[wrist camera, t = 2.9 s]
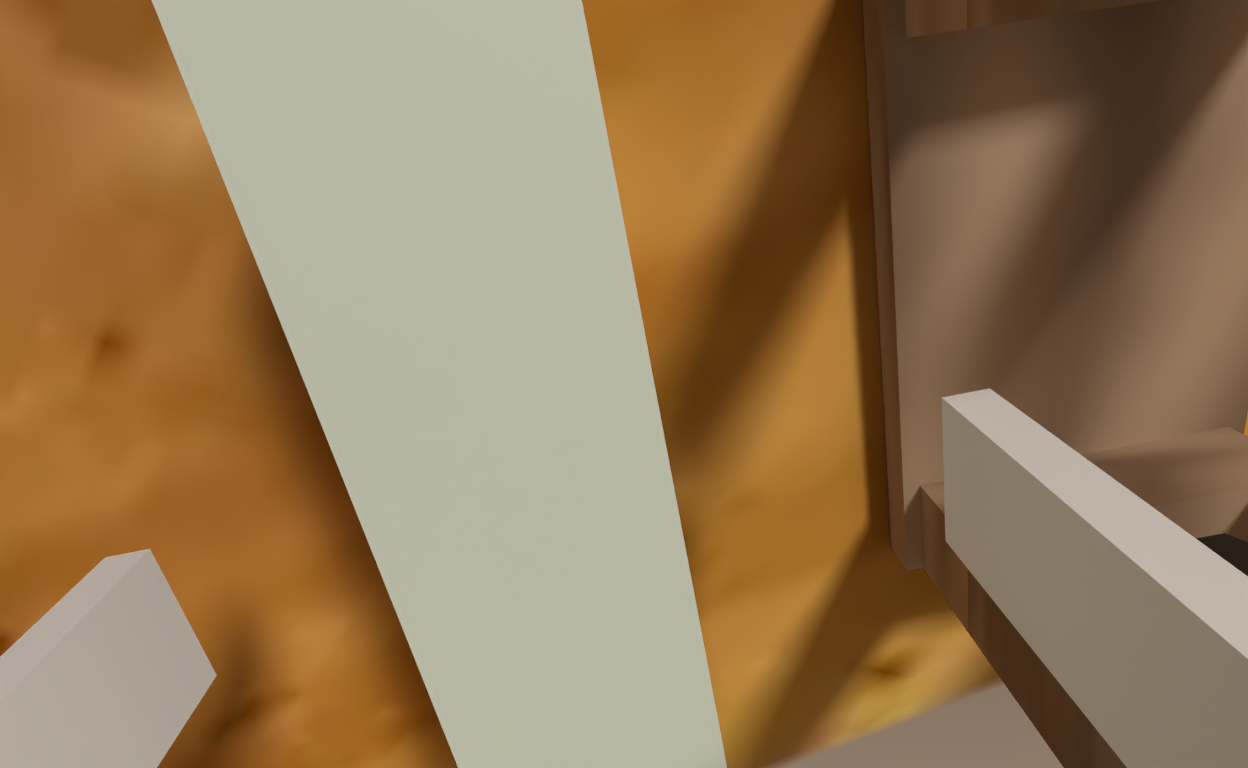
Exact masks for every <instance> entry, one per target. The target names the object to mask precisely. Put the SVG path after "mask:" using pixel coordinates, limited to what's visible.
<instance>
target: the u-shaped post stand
mask: <svg viewBox="0 0 1248 768" xmlns="http://www.w3.org/2000/svg"><path fill="white" fill-rule="evenodd" d="M863 19H864V38H865V57H866V76H867V95H868V114H869V133H870V152H871V172H872V191H873V210H874V229H875V248H876V267H877V286H878V305H879V324H880V343H881V362H882V381H883V400H884V419H885V438H886V457H887V476H888V495H889V514H890V533H891V548H892V550H893V551H894V553H895V554H896V556H897V557H898V559H899V560H900V562H901V563H902V565H903V566H904V568H905V569H906V571H910V570H915V569H921V568H923V569H924V570H925V572H926V573H927V575H928V576H929V578H930V579H931V580H932V582H933V583H934V585H935V586H936V587H937V589H938V590H939V592H940V593H941V594H942V596H943V597H944V599H945V600H946V602H947V603H948V604H949V606H950V607H951V609H952V610H953V611H954V613H955V614H956V616H957V617H958V619H959V620H960V621H961V623H962V624H963V626H964V627H965V628H966V630H967V631H968V633H969V634H970V636H971V637H972V638H973V640H974V641H975V643H976V644H977V645H978V647H979V648H980V650H981V651H982V652H983V654H984V655H985V657H986V658H987V660H988V661H989V662H990V664H991V665H992V667H993V668H994V669H995V671H996V672H997V674H998V675H999V677H1000V678H1001V679H1002V681H1003V682H1004V684H1005V685H1006V686H1007V688H1008V689H1009V691H1010V692H1011V694H1012V695H1013V696H1014V698H1015V699H1016V701H1017V702H1018V703H1019V705H1020V706H1021V708H1022V709H1023V710H1024V712H1025V713H1026V715H1027V716H1028V718H1029V719H1030V720H1031V722H1032V723H1033V724H1034V726H1035V727H1036V729H1037V730H1038V731H1039V733H1040V735H1041V736H1042V737H1043V739H1044V740H1045V741H1046V743H1047V744H1048V746H1049V747H1050V749H1051V750H1052V751H1053V753H1054V754H1055V756H1056V757H1057V759H1058V760H1059V761H1060V763H1061V764H1062V766H1063V767H1064V768H1127V767H1126V766H1125V765H1124V763H1123V762H1122V761H1121V760H1120V758H1119V757H1118V756H1117V755H1116V753H1115V752H1114V751H1113V750H1112V748H1111V747H1110V746H1109V745H1108V743H1107V742H1106V741H1105V740H1104V738H1103V737H1102V736H1101V735H1100V733H1099V732H1098V731H1097V730H1096V728H1095V727H1094V726H1093V725H1092V723H1091V722H1090V721H1089V720H1088V718H1087V717H1086V716H1085V715H1084V713H1083V712H1082V711H1081V710H1080V708H1079V707H1078V706H1077V705H1076V703H1075V702H1074V701H1073V700H1072V698H1071V697H1070V696H1069V695H1068V693H1067V692H1066V691H1065V690H1064V688H1063V687H1062V686H1061V685H1060V683H1059V682H1058V681H1057V680H1056V678H1055V677H1054V676H1053V675H1052V673H1051V672H1050V671H1049V670H1048V668H1047V667H1046V666H1045V665H1044V663H1043V662H1042V661H1041V660H1040V658H1039V657H1038V656H1037V655H1036V653H1035V652H1034V651H1033V650H1032V648H1031V647H1030V646H1029V645H1028V643H1027V642H1026V641H1025V640H1024V638H1023V637H1022V636H1021V635H1020V633H1019V632H1018V631H1017V630H1016V628H1015V627H1014V626H1013V625H1012V623H1011V622H1010V621H1009V620H1008V618H1007V617H1006V616H1005V615H1004V613H1003V612H1002V611H1001V610H1000V608H999V607H998V606H997V605H996V603H995V602H994V601H993V600H992V598H991V597H990V596H989V595H988V593H987V592H986V591H985V590H984V588H983V587H982V586H981V585H980V583H979V582H978V581H977V580H976V578H975V577H974V576H973V575H972V573H971V572H970V571H969V570H968V568H967V567H966V566H965V565H964V563H963V562H962V561H961V560H960V558H959V557H958V556H957V555H956V553H955V552H954V551H953V550H952V548H951V547H950V546H949V545H948V543H947V542H946V541H945V503H944V464H943V424H942V397H947V396H952V395H958V394H963V393H968V392H973V391H979V390H984V389H989V388H990V389H991V390H993V391H994V392H995V393H997V394H998V395H1000V396H1001V397H1002V398H1004V399H1005V400H1006V401H1008V402H1009V403H1011V404H1012V405H1013V406H1015V407H1016V408H1017V409H1019V410H1020V411H1022V412H1023V413H1024V414H1026V415H1027V416H1028V417H1030V418H1031V419H1033V420H1034V421H1035V422H1037V423H1038V424H1039V425H1041V426H1042V427H1043V428H1045V429H1046V430H1048V431H1049V432H1050V433H1052V434H1053V435H1054V436H1056V437H1057V438H1059V439H1060V440H1061V441H1063V442H1064V443H1065V444H1067V445H1068V446H1070V447H1071V448H1072V449H1074V450H1075V451H1076V452H1078V453H1079V454H1081V455H1082V456H1083V457H1085V458H1086V459H1087V460H1089V461H1090V462H1092V463H1093V464H1094V465H1096V466H1097V467H1098V468H1100V469H1101V470H1102V471H1104V472H1105V473H1107V474H1108V475H1109V476H1111V477H1112V478H1113V479H1115V480H1116V481H1118V482H1119V483H1120V484H1122V485H1123V486H1124V487H1126V488H1127V489H1129V490H1130V491H1131V492H1133V493H1134V494H1135V495H1137V496H1138V497H1140V498H1141V499H1142V500H1144V501H1145V502H1146V503H1148V504H1149V505H1150V506H1152V507H1153V508H1155V509H1156V510H1157V511H1159V512H1160V513H1161V514H1163V515H1164V516H1166V517H1167V518H1168V519H1170V520H1171V521H1172V522H1174V523H1175V524H1177V525H1178V526H1179V527H1181V528H1182V529H1183V530H1185V531H1186V532H1188V533H1189V534H1190V535H1192V536H1193V537H1194V538H1201V537H1206V536H1212V535H1217V534H1223V533H1226V534H1228V535H1231V536H1233V537H1236V538H1238V539H1241V540H1243V541H1246V542H1248V436H1246V435H1244V429H1245V423H1246V417H1247V412H1248V0H863Z"/></svg>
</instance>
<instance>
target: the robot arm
mask: <svg viewBox="0 0 1248 768" xmlns="http://www.w3.org/2000/svg"><path fill="white" fill-rule="evenodd" d="M942 424H943V464H944V503H945V541H946V542H947V543H948V545H949V546H950V547H951V548H952V550H953V551H954V552H955V553H956V555H957V556H958V557H959V558H960V560H961V561H962V562H963V563H964V565H965V566H966V567H967V568H968V570H969V571H970V572H971V573H972V575H973V576H974V577H975V578H976V580H977V581H978V582H979V583H980V585H981V586H982V587H983V588H984V590H985V591H986V592H987V593H988V595H989V596H990V597H991V598H992V600H993V601H994V602H995V603H996V605H997V606H998V607H999V608H1000V610H1001V611H1002V612H1003V613H1004V615H1005V616H1006V617H1007V618H1008V620H1009V621H1010V622H1011V623H1012V625H1013V626H1014V627H1015V628H1016V630H1017V631H1018V632H1019V633H1020V635H1021V636H1022V637H1023V638H1024V640H1025V641H1026V642H1027V643H1028V645H1029V646H1030V647H1031V648H1032V650H1033V651H1034V652H1035V653H1036V655H1037V656H1038V657H1039V658H1040V660H1041V661H1042V662H1043V663H1044V665H1045V666H1046V667H1047V668H1048V670H1049V671H1050V672H1051V673H1052V675H1053V676H1054V677H1055V678H1056V680H1057V681H1058V682H1059V683H1060V685H1061V686H1062V687H1063V688H1064V690H1065V691H1066V692H1067V693H1068V695H1069V696H1070V697H1071V698H1072V700H1073V701H1074V702H1075V703H1076V705H1077V706H1078V707H1079V708H1080V710H1081V711H1082V712H1083V713H1084V715H1085V716H1086V717H1087V718H1088V720H1089V721H1090V722H1091V723H1092V725H1093V726H1094V727H1095V728H1096V730H1097V731H1098V732H1099V733H1100V735H1101V736H1102V737H1103V738H1104V740H1105V741H1106V742H1107V743H1108V745H1109V746H1110V747H1111V748H1112V750H1113V751H1114V752H1115V753H1116V755H1117V756H1118V757H1119V758H1120V760H1121V761H1122V762H1123V763H1124V765H1125V766H1126V767H1127V768H1248V542H1246V541H1243V540H1241V539H1238V538H1236V537H1233V536H1231V535H1228V534H1226V533H1223V534H1217V535H1212V536H1206V537H1201V538H1194V537H1193V536H1192V535H1190V534H1189V533H1188V532H1186V531H1185V530H1183V529H1182V528H1181V527H1179V526H1178V525H1177V524H1175V523H1174V522H1172V521H1171V520H1170V519H1168V518H1167V517H1166V516H1164V515H1163V514H1161V513H1160V512H1159V511H1157V510H1156V509H1155V508H1153V507H1152V506H1150V505H1149V504H1148V503H1146V502H1145V501H1144V500H1142V499H1141V498H1140V497H1138V496H1137V495H1135V494H1134V493H1133V492H1131V491H1130V490H1129V489H1127V488H1126V487H1124V486H1123V485H1122V484H1120V483H1119V482H1118V481H1116V480H1115V479H1113V478H1112V477H1111V476H1109V475H1108V474H1107V473H1105V472H1104V471H1102V470H1101V469H1100V468H1098V467H1097V466H1096V465H1094V464H1093V463H1092V462H1090V461H1089V460H1087V459H1086V458H1085V457H1083V456H1082V455H1081V454H1079V453H1078V452H1076V451H1075V450H1074V449H1072V448H1071V447H1070V446H1068V445H1067V444H1065V443H1064V442H1063V441H1061V440H1060V439H1059V438H1057V437H1056V436H1054V435H1053V434H1052V433H1050V432H1049V431H1048V430H1046V429H1045V428H1043V427H1042V426H1041V425H1039V424H1038V423H1037V422H1035V421H1034V420H1033V419H1031V418H1030V417H1028V416H1027V415H1026V414H1024V413H1023V412H1022V411H1020V410H1019V409H1017V408H1016V407H1015V406H1013V405H1012V404H1011V403H1009V402H1008V401H1006V400H1005V399H1004V398H1002V397H1001V396H1000V395H998V394H997V393H995V392H994V391H993V390H991V389H990V388H989V389H984V390H979V391H973V392H968V393H963V394H958V395H952V396H947V397H942ZM216 676H217V675H216V673H215V671H214V669H213V667H212V666H211V664H210V662H209V660H208V658H207V656H206V654H205V652H204V650H203V649H202V647H201V645H200V643H199V641H198V639H197V637H196V635H195V633H194V632H193V630H192V628H191V626H190V624H189V622H188V620H187V618H186V616H185V614H184V613H183V611H182V609H181V607H180V605H179V603H178V601H177V599H176V597H175V596H174V594H173V592H172V590H171V588H170V586H169V584H168V582H167V580H166V579H165V577H164V575H163V573H162V571H161V569H160V567H159V565H158V563H157V562H156V560H155V558H154V556H153V554H152V552H151V550H150V549H146V550H141V551H136V552H131V553H126V554H120V555H115V556H110V557H105V558H104V559H103V560H102V561H101V562H100V563H99V564H98V565H97V566H96V567H95V568H94V569H92V570H91V571H90V572H89V573H88V574H87V575H86V576H85V577H84V578H83V579H82V580H81V581H80V582H79V583H78V584H77V585H76V586H74V587H73V588H72V589H71V590H70V591H69V592H68V593H67V594H66V595H65V596H64V597H63V598H62V599H61V600H60V601H59V602H58V603H57V604H55V605H54V606H53V607H52V608H51V609H50V610H49V611H48V612H47V613H46V614H45V615H44V616H43V617H42V618H41V619H40V620H39V621H38V622H36V623H35V624H34V625H33V626H32V627H31V628H30V629H29V630H28V631H27V632H26V633H25V634H24V635H23V636H22V637H21V638H20V639H19V640H17V641H16V642H15V643H14V644H13V645H12V646H11V647H10V648H9V649H8V650H7V651H6V652H5V653H4V654H3V655H2V656H1V657H0V768H157V767H158V765H159V764H160V762H161V761H162V759H163V758H164V756H165V755H166V753H167V752H168V750H169V748H170V747H171V745H172V744H173V742H174V741H175V739H176V738H177V736H178V735H179V733H180V731H181V730H182V728H183V727H184V725H185V724H186V722H187V721H188V719H189V718H190V716H191V714H192V713H193V711H194V710H195V708H196V707H197V705H198V704H199V702H200V701H201V699H202V697H203V696H204V694H205V693H206V691H207V690H208V688H209V687H210V685H211V684H212V682H213V680H214V679H215V677H216Z"/></svg>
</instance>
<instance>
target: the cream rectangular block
mask: <svg viewBox="0 0 1248 768" xmlns="http://www.w3.org/2000/svg"><path fill="white" fill-rule="evenodd" d="M152 2H153V5H154V7H155V10H156V12H157V15H158V17H159V20H160V22H161V25H162V27H163V30H164V32H165V35H166V37H167V40H168V42H169V45H170V47H171V50H172V52H173V55H174V57H175V60H176V62H177V65H178V67H179V70H180V72H181V75H182V77H183V80H184V82H185V85H186V87H187V90H188V92H189V95H190V97H191V100H192V102H193V105H194V107H195V110H196V113H197V115H198V118H199V120H200V123H201V125H202V128H203V130H204V133H205V135H206V138H207V140H208V143H209V145H210V148H211V150H212V153H213V155H214V158H215V160H216V163H217V165H218V168H219V170H220V173H221V175H222V178H223V180H224V183H225V185H226V188H227V190H228V193H229V195H230V198H231V200H232V203H233V205H234V208H235V210H236V213H237V215H238V218H239V220H240V223H241V225H242V228H243V230H244V233H245V235H246V238H247V240H248V243H249V245H250V248H251V250H252V253H253V255H254V258H255V260H256V263H257V265H258V268H259V270H260V273H261V275H262V278H263V280H264V283H265V285H266V288H267V290H268V293H269V295H270V298H271V300H272V303H273V305H274V308H275V310H276V313H277V315H278V318H279V320H280V323H281V325H282V328H283V330H284V333H285V335H286V338H287V340H288V343H289V345H290V348H291V350H292V353H293V355H294V358H295V360H296V363H297V365H298V368H299V370H300V373H301V375H302V378H303V380H304V383H305V386H306V388H307V391H308V393H309V396H310V398H311V401H312V403H313V406H314V408H315V411H316V413H317V416H318V418H319V421H320V423H321V426H322V428H323V431H324V433H325V436H326V438H327V441H328V443H329V446H330V448H331V451H332V453H333V456H334V458H335V461H336V463H337V466H338V468H339V471H340V473H341V476H342V478H343V481H344V483H345V486H346V488H347V491H348V493H349V496H350V498H351V501H352V503H353V506H354V508H355V511H356V513H357V516H358V518H359V521H360V523H361V526H362V528H363V531H364V533H365V536H366V538H367V541H368V543H369V546H370V548H371V551H372V553H373V556H374V558H375V561H376V563H377V566H378V568H379V571H380V573H381V576H382V578H383V581H384V583H385V586H386V588H387V591H388V593H389V596H390V598H391V601H392V603H393V606H394V608H395V611H396V613H397V616H398V618H399V621H400V623H401V626H402V628H403V631H404V633H405V636H406V638H407V641H408V643H409V646H410V648H411V651H412V654H413V656H414V659H415V661H416V664H417V666H418V669H419V671H420V674H421V676H422V679H423V681H424V684H425V686H426V689H427V691H428V694H429V696H430V699H431V701H432V704H433V706H434V709H435V711H436V714H437V716H438V719H439V721H440V724H441V726H442V729H443V731H444V734H445V736H446V739H447V741H448V744H449V746H450V749H451V751H452V754H453V756H454V759H455V761H456V764H457V766H458V768H727V764H726V759H725V754H724V748H723V743H722V738H721V733H720V727H719V722H718V717H717V711H716V706H715V701H714V696H713V690H712V685H711V680H710V674H709V669H708V664H707V659H706V653H705V648H704V643H703V638H702V632H701V627H700V622H699V616H698V611H697V606H696V601H695V595H694V590H693V585H692V579H691V574H690V569H689V564H688V558H687V553H686V548H685V543H684V537H683V532H682V527H681V521H680V516H679V511H678V506H677V500H676V495H675V490H674V484H673V479H672V474H671V469H670V463H669V458H668V453H667V448H666V442H665V437H664V432H663V426H662V421H661V416H660V411H659V405H658V400H657V395H656V389H655V384H654V379H653V374H652V368H651V363H650V358H649V353H648V347H647V342H646V337H645V331H644V326H643V321H642V316H641V310H640V305H639V300H638V294H637V289H636V284H635V279H634V273H633V268H632V263H631V258H630V252H629V247H628V242H627V236H626V231H625V226H624V221H623V215H622V210H621V205H620V199H619V194H618V189H617V184H616V178H615V173H614V168H613V163H612V157H611V152H610V147H609V141H608V136H607V131H606V126H605V120H604V115H603V110H602V104H601V99H600V94H599V89H598V83H597V78H596V73H595V68H594V62H593V57H592V52H591V46H590V41H589V36H588V31H587V25H586V20H585V15H584V10H583V4H582V0H152Z"/></svg>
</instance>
